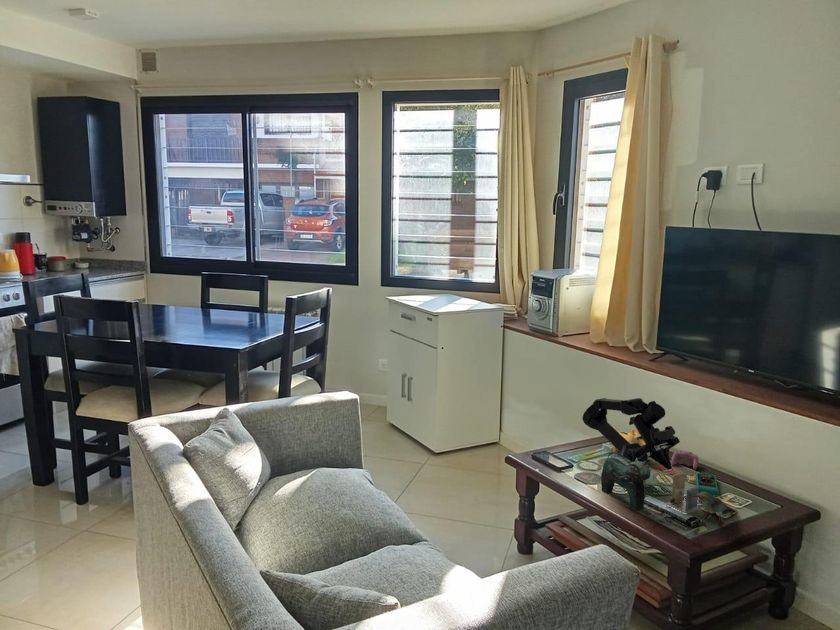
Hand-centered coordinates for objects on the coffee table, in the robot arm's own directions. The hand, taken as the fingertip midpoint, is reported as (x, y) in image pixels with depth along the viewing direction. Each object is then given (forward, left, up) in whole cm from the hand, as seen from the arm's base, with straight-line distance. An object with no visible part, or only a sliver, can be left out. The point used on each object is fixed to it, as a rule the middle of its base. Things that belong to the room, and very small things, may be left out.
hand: (670, 469), depth 227 cm
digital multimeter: (+4, +21, -13) cm, 25 cm away
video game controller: (-10, +34, -12) cm, 37 cm away
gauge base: (+6, -1, -12) cm, 14 cm away
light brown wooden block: (+4, -2, -10) cm, 11 cm away
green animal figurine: (-11, -12, -12) cm, 20 cm away
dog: (-31, +26, -12) cm, 42 cm away
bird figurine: (+17, -2, -12) cm, 21 cm away
